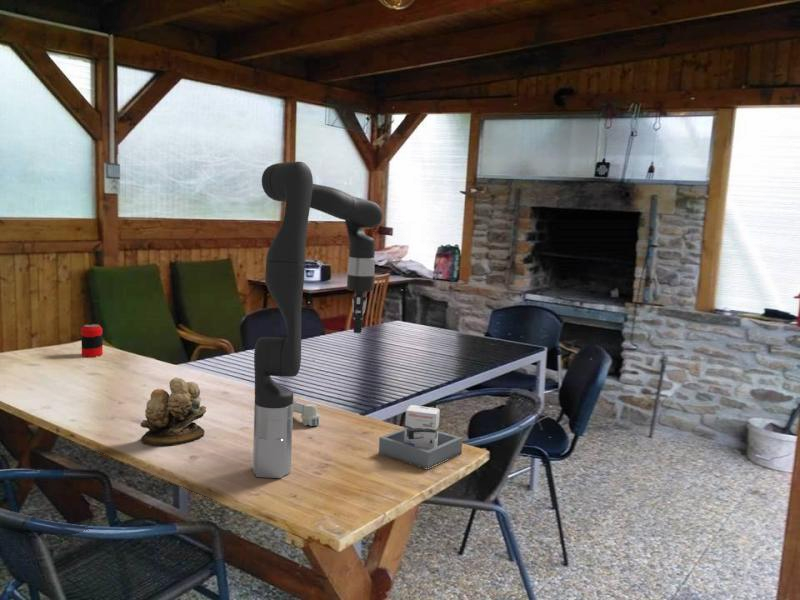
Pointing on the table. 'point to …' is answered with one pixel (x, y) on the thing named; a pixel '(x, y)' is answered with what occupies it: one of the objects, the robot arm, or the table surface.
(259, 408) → the robot arm
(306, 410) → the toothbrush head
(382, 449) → the walled crate
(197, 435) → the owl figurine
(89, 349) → the soda can
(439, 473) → the table surface
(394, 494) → the table surface
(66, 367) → the table surface
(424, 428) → the ink box
